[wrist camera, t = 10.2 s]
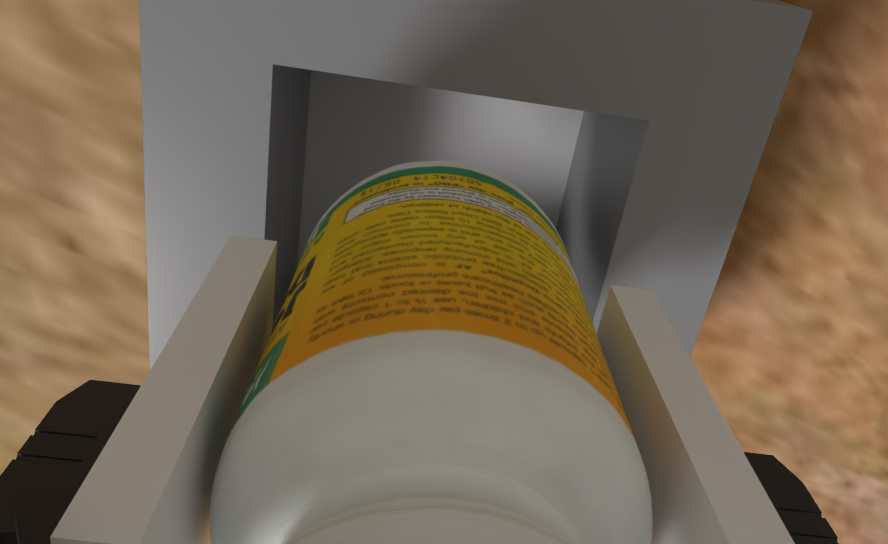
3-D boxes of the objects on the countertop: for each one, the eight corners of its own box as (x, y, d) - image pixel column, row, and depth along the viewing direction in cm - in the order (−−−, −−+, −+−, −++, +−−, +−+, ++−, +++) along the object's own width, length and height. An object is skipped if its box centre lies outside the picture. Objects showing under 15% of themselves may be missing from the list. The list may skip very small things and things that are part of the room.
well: (591, 370, 24) (637, 505, 19) (217, 324, 23) (152, 453, 18) (705, -21, 19) (813, 10, 13) (225, -102, 18) (136, -101, 12)
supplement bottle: (558, 389, 16) (688, 936, 8) (313, 388, 16) (169, 937, 8) (579, 150, 14) (803, 560, 5) (291, 149, 14) (44, 559, 5)
